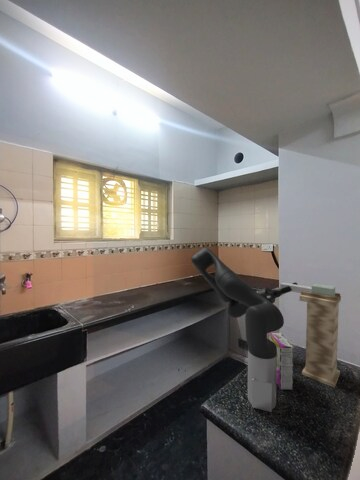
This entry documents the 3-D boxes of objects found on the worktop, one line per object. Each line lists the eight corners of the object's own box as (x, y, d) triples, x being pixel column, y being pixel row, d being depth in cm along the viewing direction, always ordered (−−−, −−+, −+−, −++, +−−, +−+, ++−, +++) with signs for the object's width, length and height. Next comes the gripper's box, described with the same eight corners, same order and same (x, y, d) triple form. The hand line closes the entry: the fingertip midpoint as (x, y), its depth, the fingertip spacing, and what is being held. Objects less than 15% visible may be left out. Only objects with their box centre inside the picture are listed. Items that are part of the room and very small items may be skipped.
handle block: (335, 296, 87) (335, 286, 87) (332, 299, 84) (332, 289, 83) (283, 287, 101) (283, 278, 100) (279, 289, 97) (279, 280, 97)
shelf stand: (339, 373, 90) (342, 292, 88) (334, 387, 82) (337, 299, 80) (305, 360, 98) (307, 287, 97) (297, 372, 90) (299, 292, 89)
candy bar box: (268, 370, 92) (268, 332, 91) (280, 370, 92) (280, 332, 91) (279, 390, 81) (280, 346, 80) (293, 390, 81) (294, 346, 80)
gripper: (251, 293, 101) (283, 281, 91) (264, 287, 112) (294, 275, 101) (259, 309, 99) (293, 298, 89) (271, 301, 109) (303, 291, 99)
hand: (294, 286), depth 95 cm, fingers open, 8 cm apart
